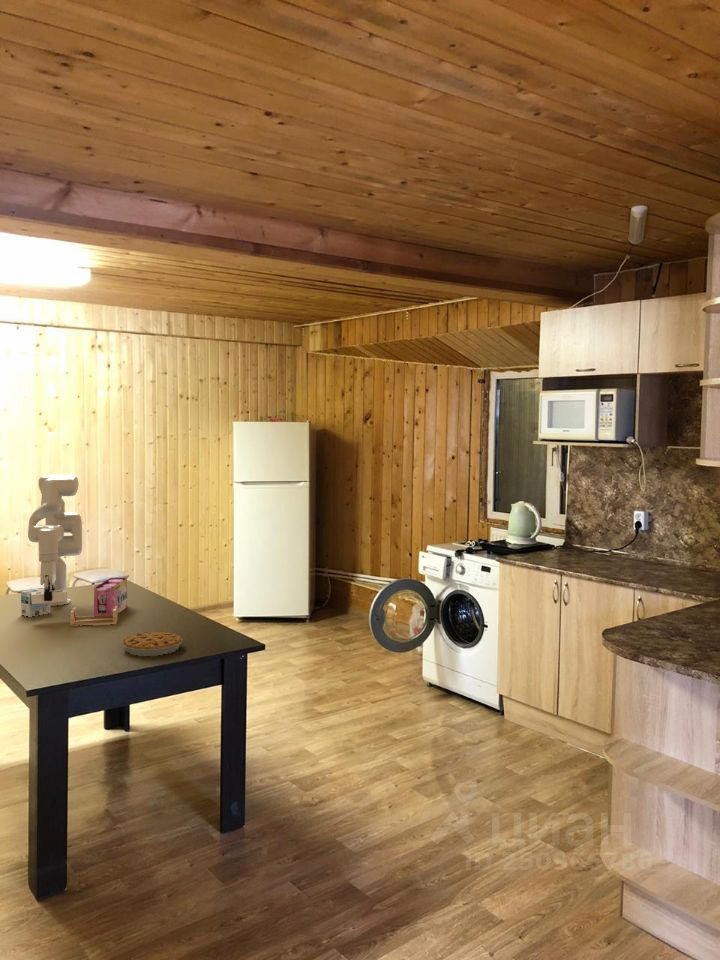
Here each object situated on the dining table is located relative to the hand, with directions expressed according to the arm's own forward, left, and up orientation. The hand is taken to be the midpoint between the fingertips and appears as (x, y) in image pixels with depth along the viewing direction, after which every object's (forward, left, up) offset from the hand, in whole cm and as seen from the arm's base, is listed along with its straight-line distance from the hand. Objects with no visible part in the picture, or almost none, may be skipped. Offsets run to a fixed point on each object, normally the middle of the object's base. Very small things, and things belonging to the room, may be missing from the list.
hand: (49, 598), depth 337 cm
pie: (+51, +45, -10) cm, 69 cm away
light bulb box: (-13, -8, -10) cm, 18 cm away
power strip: (0, 0, -1) cm, 1 cm away
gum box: (-11, +24, -10) cm, 28 cm away
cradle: (+7, +19, -10) cm, 23 cm away
